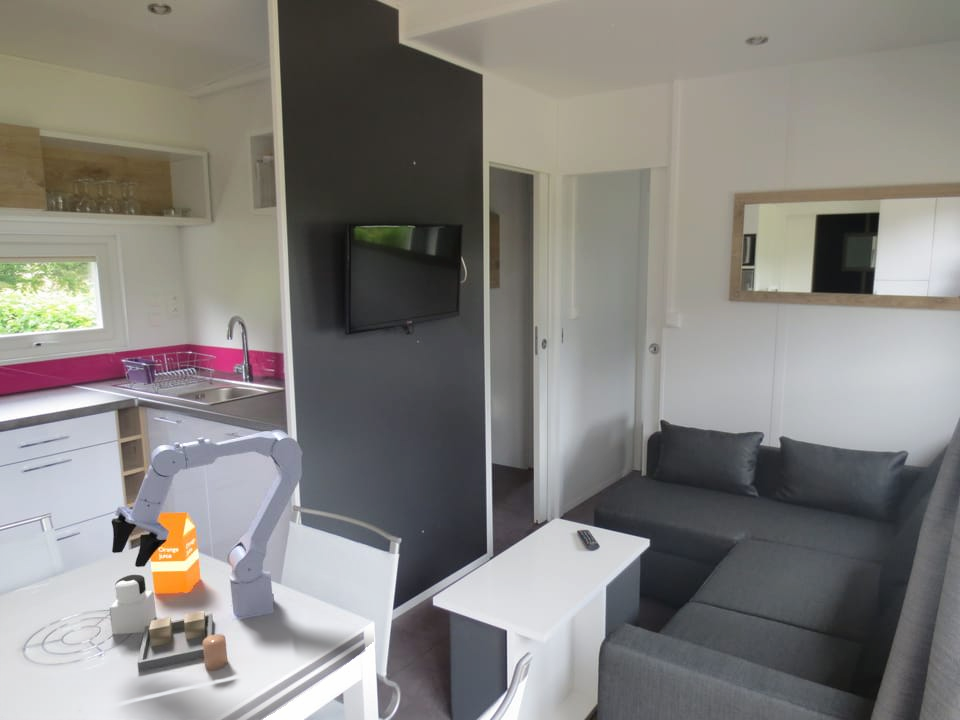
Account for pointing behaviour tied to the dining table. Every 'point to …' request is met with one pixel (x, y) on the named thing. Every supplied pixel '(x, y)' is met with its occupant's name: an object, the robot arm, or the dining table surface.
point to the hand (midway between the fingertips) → (128, 559)
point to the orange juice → (176, 556)
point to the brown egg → (215, 652)
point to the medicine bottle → (132, 606)
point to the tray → (173, 647)
